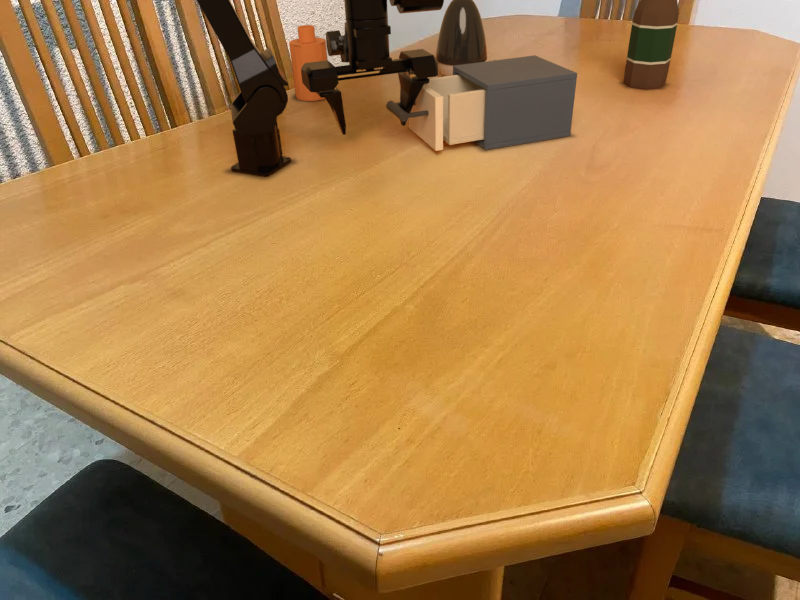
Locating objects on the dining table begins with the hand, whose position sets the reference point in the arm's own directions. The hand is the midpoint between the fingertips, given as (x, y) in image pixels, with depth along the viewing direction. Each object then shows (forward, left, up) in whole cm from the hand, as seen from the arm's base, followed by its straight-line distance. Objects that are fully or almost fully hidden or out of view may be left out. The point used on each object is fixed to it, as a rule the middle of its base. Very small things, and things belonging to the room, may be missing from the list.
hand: (373, 129), depth 95 cm
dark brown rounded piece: (+44, +3, -4) cm, 44 cm away
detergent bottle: (+23, +25, -4) cm, 34 cm away
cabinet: (+16, -16, -4) cm, 23 cm away
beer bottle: (+50, -32, -4) cm, 59 cm away
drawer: (+9, -9, -3) cm, 12 cm away
